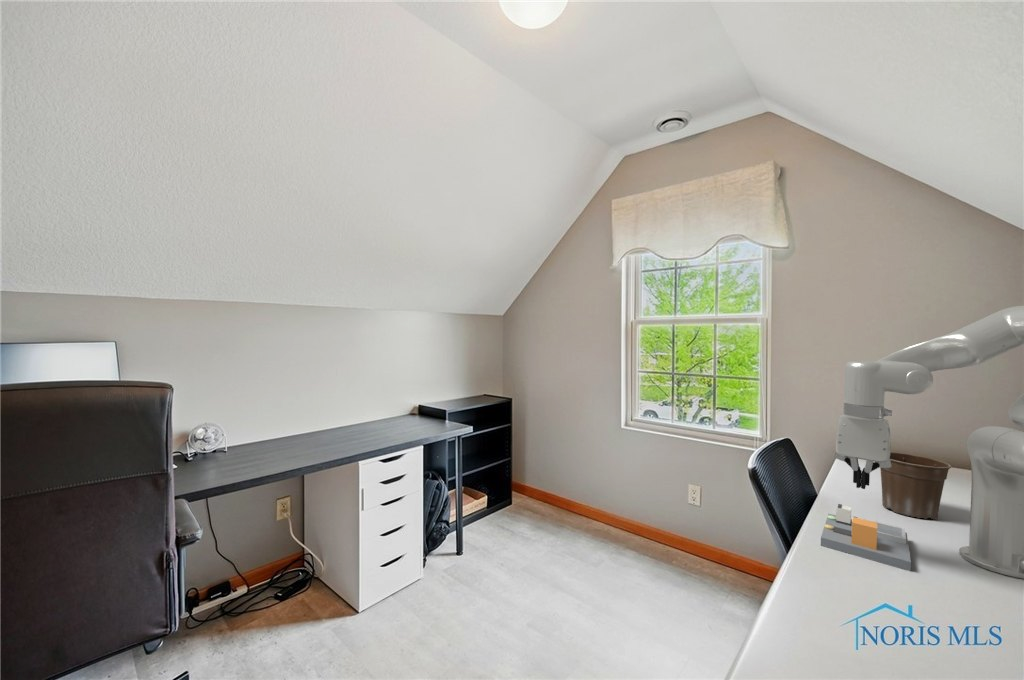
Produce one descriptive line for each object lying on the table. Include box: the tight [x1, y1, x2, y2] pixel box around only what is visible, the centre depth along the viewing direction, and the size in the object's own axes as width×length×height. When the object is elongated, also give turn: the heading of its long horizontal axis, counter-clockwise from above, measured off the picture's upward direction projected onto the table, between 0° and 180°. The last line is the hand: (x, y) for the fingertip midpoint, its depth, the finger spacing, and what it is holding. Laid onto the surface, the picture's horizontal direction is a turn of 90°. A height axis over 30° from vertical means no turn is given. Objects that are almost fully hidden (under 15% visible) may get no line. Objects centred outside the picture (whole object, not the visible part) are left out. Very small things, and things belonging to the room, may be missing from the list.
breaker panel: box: [820, 513, 912, 572], centre depth 105 cm, size 20×16×3 cm
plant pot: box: [879, 451, 952, 520], centre depth 126 cm, size 16×16×16 cm
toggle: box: [835, 503, 852, 524], centre depth 112 cm, size 3×3×4 cm
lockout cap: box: [851, 516, 878, 550], centre depth 100 cm, size 4×4×5 cm
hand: (861, 486), depth 102 cm, fingers closed
